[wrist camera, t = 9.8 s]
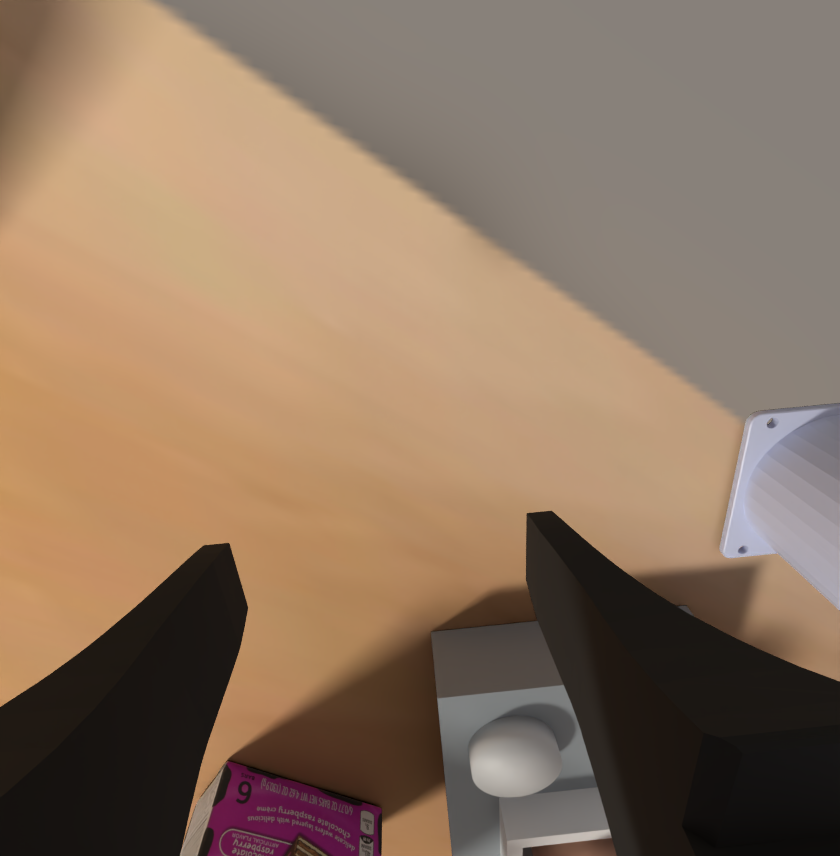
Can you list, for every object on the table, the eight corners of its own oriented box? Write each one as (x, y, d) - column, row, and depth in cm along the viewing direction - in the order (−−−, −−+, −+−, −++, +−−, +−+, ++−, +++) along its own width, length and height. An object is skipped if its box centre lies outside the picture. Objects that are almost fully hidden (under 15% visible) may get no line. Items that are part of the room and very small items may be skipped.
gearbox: (686, 605, 28) (758, 705, 22) (646, 818, 36) (692, 929, 31) (430, 631, 28) (441, 739, 22) (450, 840, 36) (461, 956, 30)
